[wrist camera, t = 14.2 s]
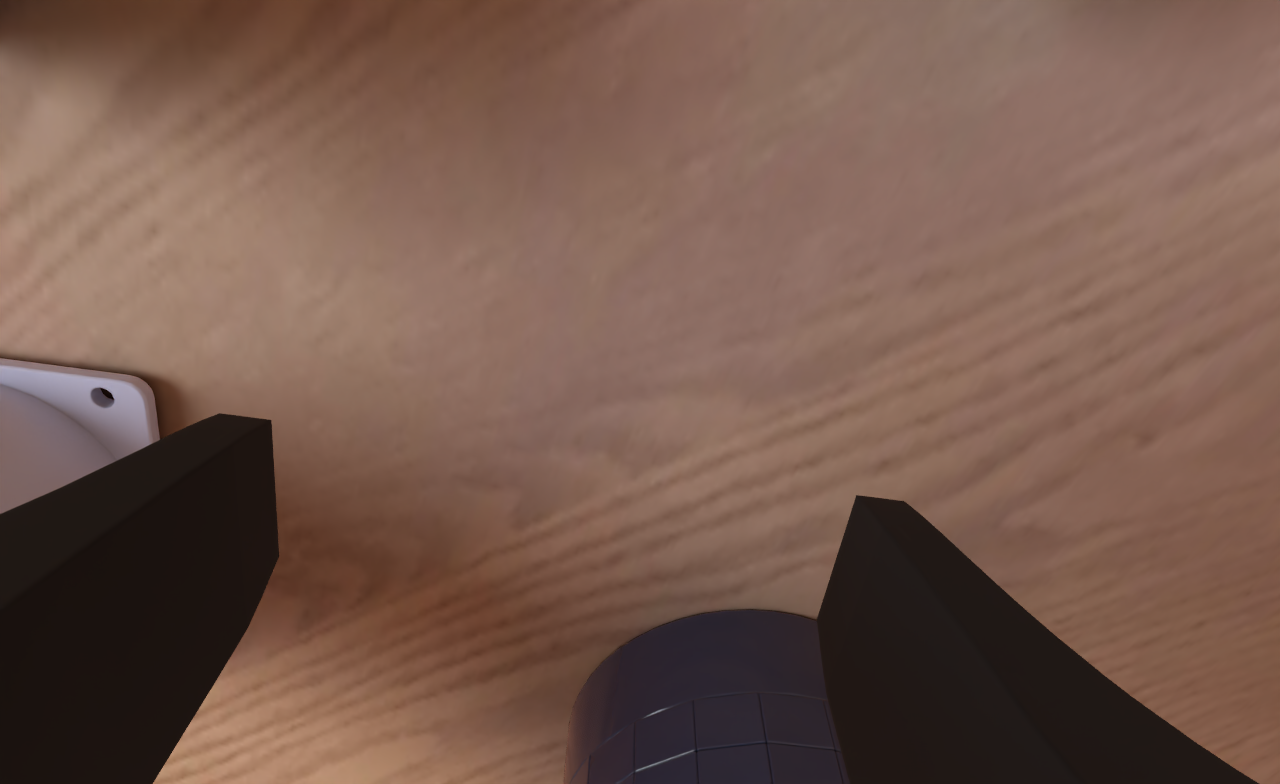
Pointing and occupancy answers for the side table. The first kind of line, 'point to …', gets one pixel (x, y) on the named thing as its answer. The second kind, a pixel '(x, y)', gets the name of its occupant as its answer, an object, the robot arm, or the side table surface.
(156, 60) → the side table surface
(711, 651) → the pot
